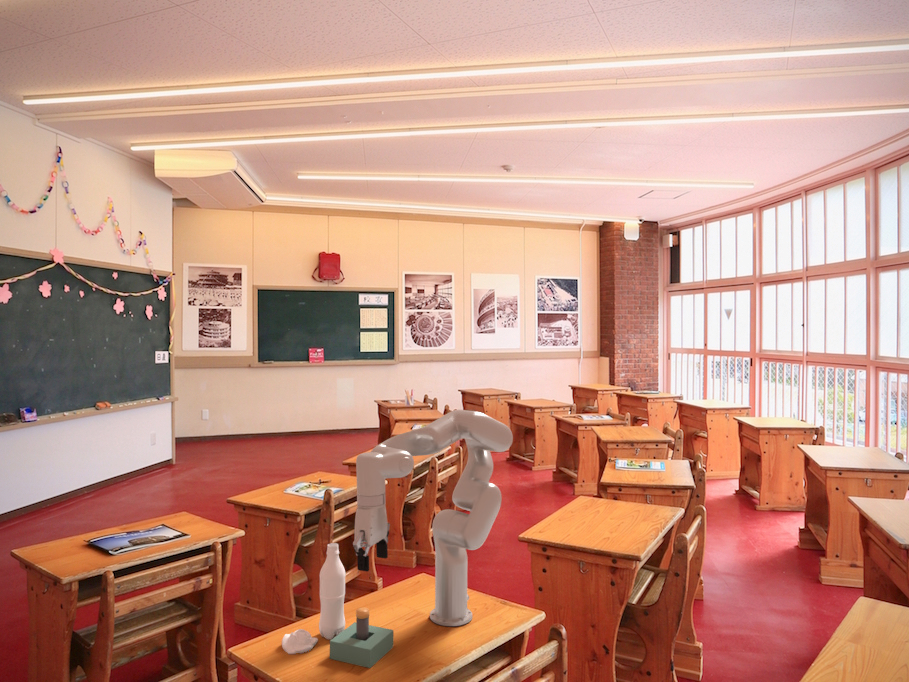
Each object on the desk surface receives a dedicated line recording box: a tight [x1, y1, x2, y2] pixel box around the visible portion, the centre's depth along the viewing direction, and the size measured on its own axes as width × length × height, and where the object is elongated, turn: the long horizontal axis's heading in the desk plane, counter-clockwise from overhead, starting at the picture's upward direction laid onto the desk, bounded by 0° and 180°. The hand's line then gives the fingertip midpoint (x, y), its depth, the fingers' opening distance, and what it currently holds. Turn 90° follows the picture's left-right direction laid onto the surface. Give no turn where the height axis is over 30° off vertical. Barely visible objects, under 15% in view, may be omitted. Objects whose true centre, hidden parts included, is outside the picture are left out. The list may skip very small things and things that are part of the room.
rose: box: [281, 628, 319, 655], centre depth 164 cm, size 10×4×10 cm
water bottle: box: [318, 542, 346, 641], centre depth 170 cm, size 7×7×25 cm
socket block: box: [329, 621, 394, 669], centre depth 160 cm, size 12×12×4 cm
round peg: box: [355, 607, 370, 641], centre depth 160 cm, size 3×3×11 cm
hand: (373, 563), depth 163 cm, fingers open, 9 cm apart
